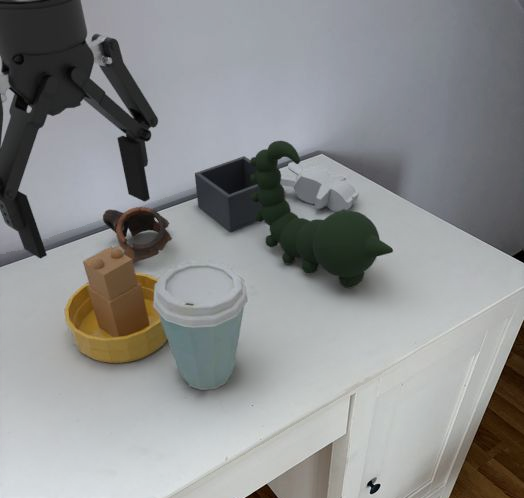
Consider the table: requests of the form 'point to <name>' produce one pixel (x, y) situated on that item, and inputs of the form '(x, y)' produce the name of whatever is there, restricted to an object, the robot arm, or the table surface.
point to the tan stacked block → (115, 293)
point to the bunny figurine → (320, 187)
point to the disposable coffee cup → (202, 319)
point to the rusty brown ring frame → (138, 230)
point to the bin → (228, 193)
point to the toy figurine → (313, 226)
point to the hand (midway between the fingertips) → (90, 223)
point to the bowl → (103, 344)
